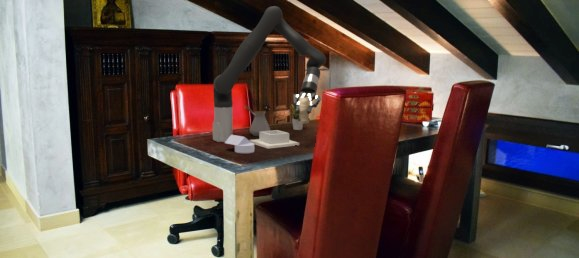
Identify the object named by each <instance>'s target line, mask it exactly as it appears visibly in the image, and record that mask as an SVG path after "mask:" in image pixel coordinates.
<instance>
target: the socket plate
mask: <svg viewBox="0 0 579 258" xmlns="http://www.w3.org/2000/svg"><path fill="white" fill-rule="evenodd" d="M248 140H249V141H250V142H251V143H254V145H256V146H259V147H262V148H265V149H268V150H269V149H277V148H284V147H286V148H287V147H294V146H295V145H297V146H300V142H298V141H294V140H291V139H290V133H289V132H287V131H283V130H278V129H275V130H270V131H262V132H259V136H258V138H256V139H255V138H254V139H248Z"/></svg>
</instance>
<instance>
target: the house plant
mask: <svg viewBox="0 0 579 258" xmlns="http://www.w3.org/2000/svg"><path fill="white" fill-rule="evenodd" d="M290 109H291V110H292V111H293V112H290V111H288V112H287V114H288V113H289V114H292V115H293V116H294V117H293V118H291V120H292V121H291V122H292V128H293V130H295V131H302V130H303V126H304V124H303V123H299V121H298V119H299V113H297V112H296V106H295V105H294V104H292V103H291V107H290Z"/></svg>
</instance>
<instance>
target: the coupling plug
mask: <svg viewBox="0 0 579 258" xmlns="http://www.w3.org/2000/svg"><path fill="white" fill-rule="evenodd" d="M299 99H300V101H299V100H298V101H299V119H298V121H299V123H303V125H304V124H309V122H310V120H311V118H309V117H310V114H308V113H307V110H308V106H309V98H307V97H299Z"/></svg>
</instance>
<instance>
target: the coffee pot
mask: <svg viewBox="0 0 579 258" xmlns="http://www.w3.org/2000/svg"><path fill="white" fill-rule="evenodd" d="M244 108H245V109H247V110H248V111H249V112H250V113H251V114H253V115H254V117H253V121H252V123H251V125H250V128H249V133H250V134H251V135H252V136H254V137H259V132H262V131H271V127H270V125H269V122H268V121H267V118H266V113H267V111H264V110H263V111H262V110H256V111H253V110H252V109H251V108H250V107H249V106H247V105H244Z"/></svg>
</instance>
